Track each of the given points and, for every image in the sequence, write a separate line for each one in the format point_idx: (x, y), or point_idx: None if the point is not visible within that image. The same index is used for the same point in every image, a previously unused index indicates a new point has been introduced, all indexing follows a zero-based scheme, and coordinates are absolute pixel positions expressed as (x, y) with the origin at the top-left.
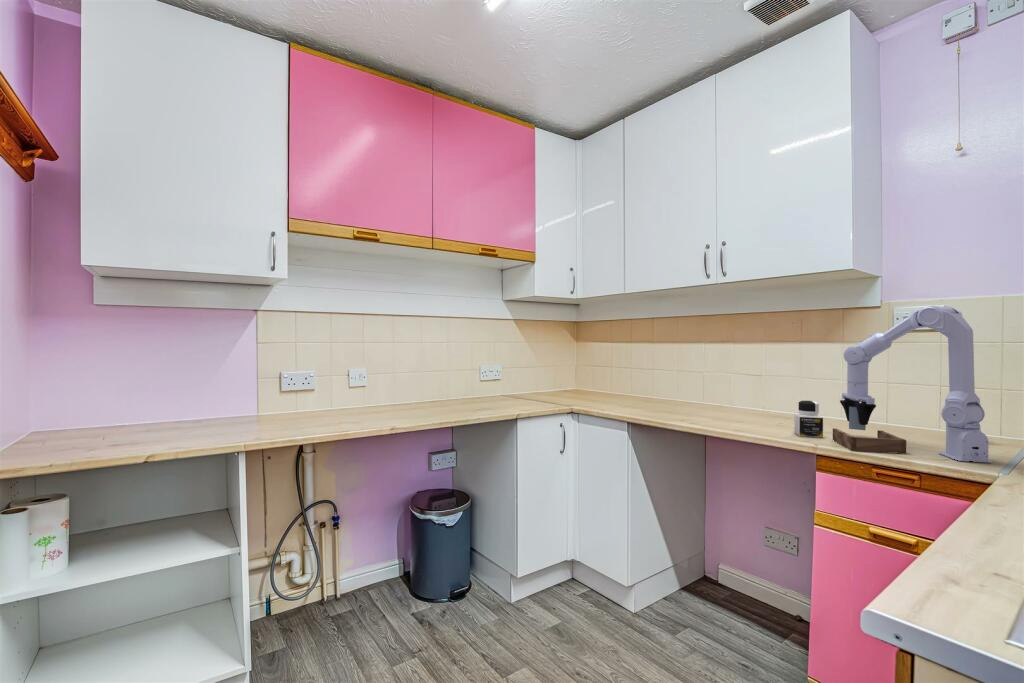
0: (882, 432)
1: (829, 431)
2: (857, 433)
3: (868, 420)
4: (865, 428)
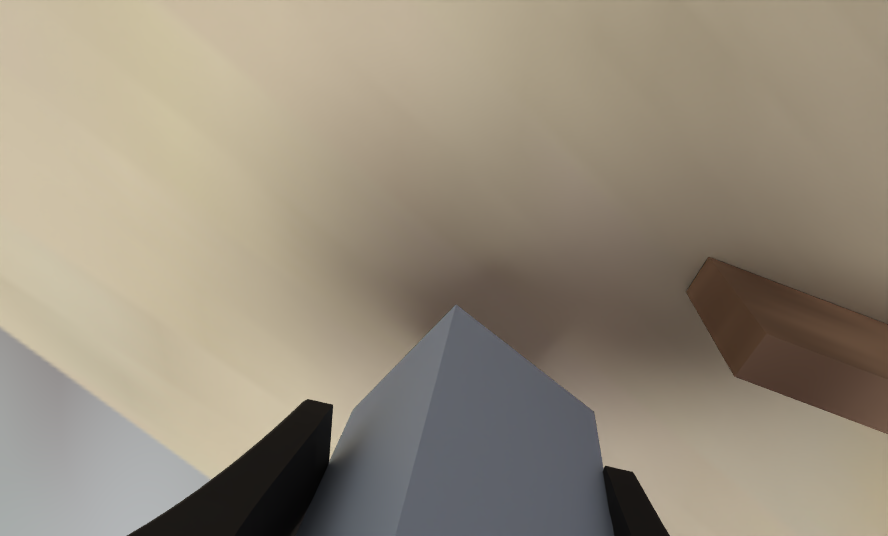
0: (875, 427)
1: (112, 305)
2: (174, 90)
3: (662, 527)
4: (595, 429)
